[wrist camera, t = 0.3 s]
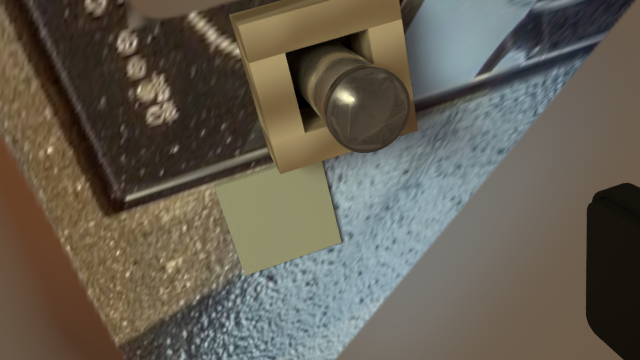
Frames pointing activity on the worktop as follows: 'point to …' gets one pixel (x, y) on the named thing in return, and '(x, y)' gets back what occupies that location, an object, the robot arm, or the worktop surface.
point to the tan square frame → (301, 31)
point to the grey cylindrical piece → (351, 95)
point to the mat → (278, 215)
